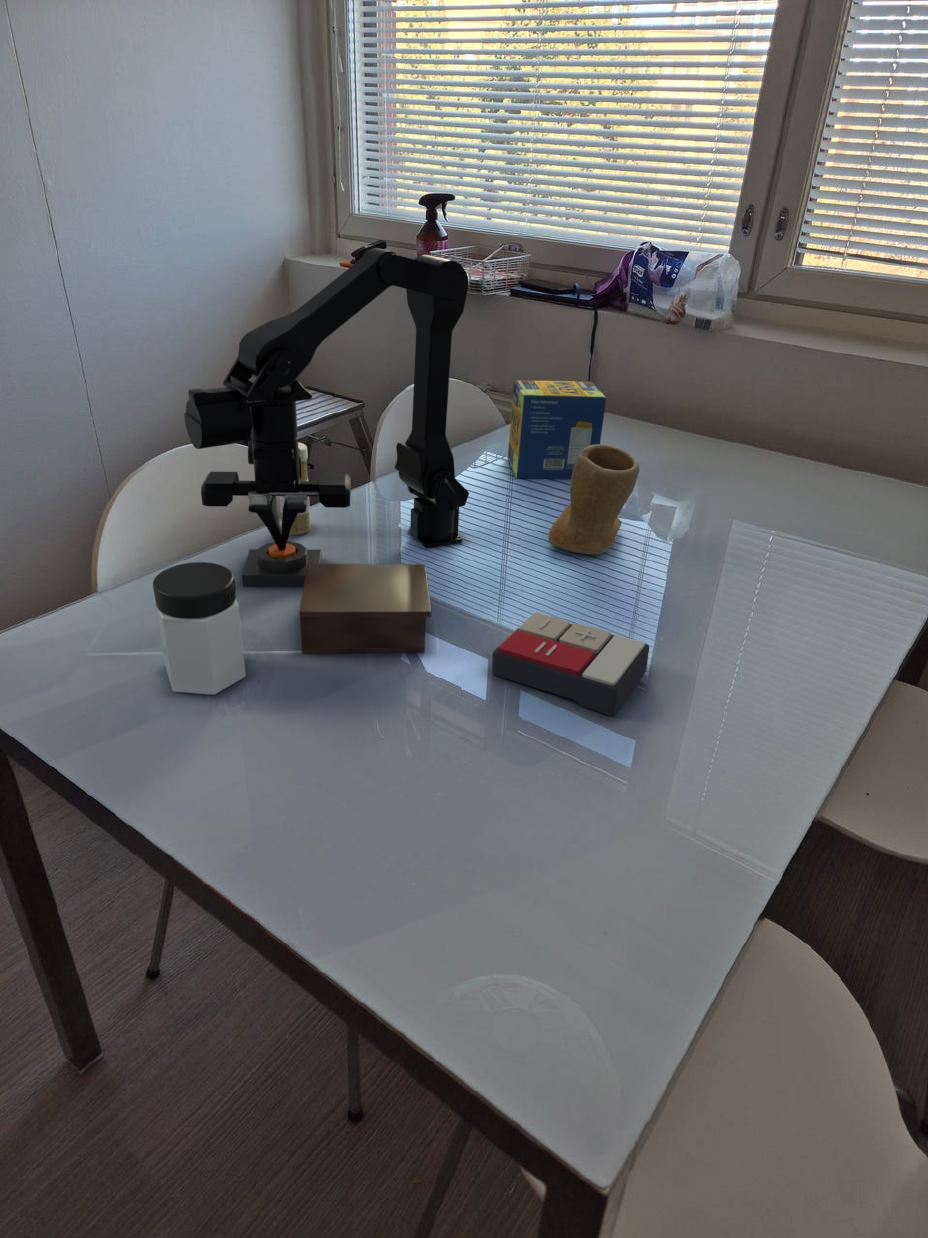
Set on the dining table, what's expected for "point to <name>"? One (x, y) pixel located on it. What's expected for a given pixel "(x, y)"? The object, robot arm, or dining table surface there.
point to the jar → (199, 627)
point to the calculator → (572, 662)
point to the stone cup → (595, 500)
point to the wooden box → (362, 634)
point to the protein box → (553, 426)
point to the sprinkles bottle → (303, 519)
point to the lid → (365, 591)
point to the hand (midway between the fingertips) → (282, 548)
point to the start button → (282, 551)
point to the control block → (278, 567)
